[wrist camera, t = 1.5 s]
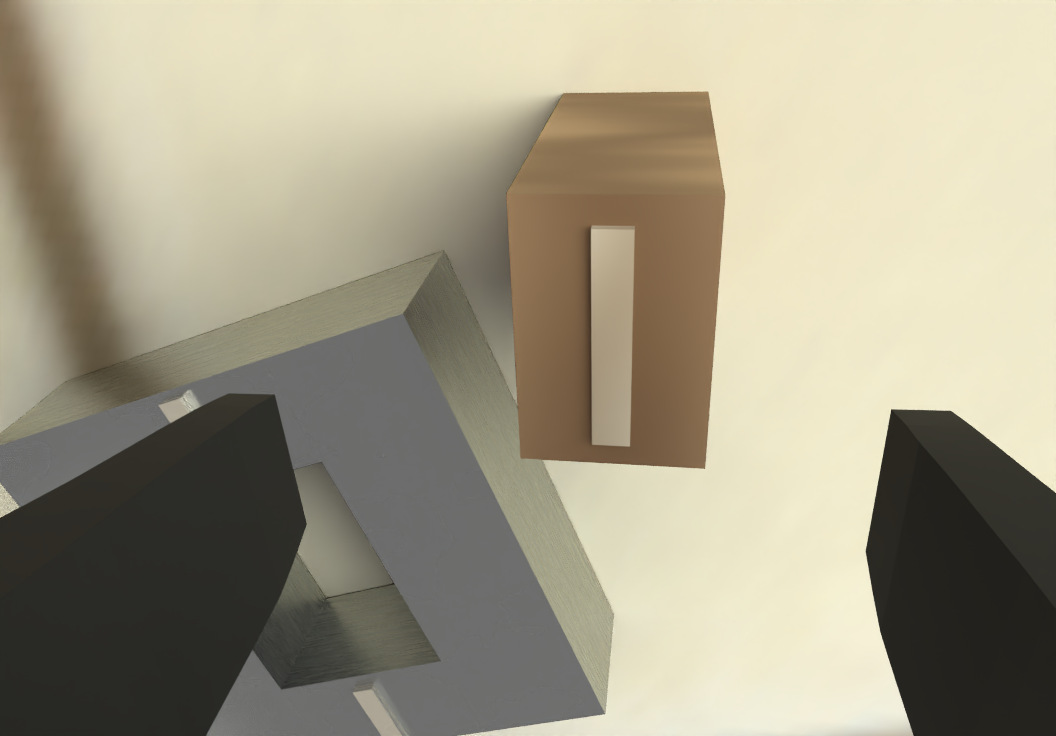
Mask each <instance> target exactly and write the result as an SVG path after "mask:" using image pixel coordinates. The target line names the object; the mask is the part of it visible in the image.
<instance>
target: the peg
mask: <svg viewBox="0 0 1056 736" xmlns="http://www.w3.org/2000/svg"><path fill="white" fill-rule="evenodd" d="M506 200H507V218H508V237H509V255H510V274H511V292H512V311H513V329H514V348H515V366H516V385H517V403H518V421H519V440H520V458H522V459H540V460H559V461H577V462H595V463H613V464H631V465H649V466H668V467H686V468H704V469H705V462H706V448H707V435H708V421H709V408H710V394H711V381H712V367H713V354H714V340H715V327H716V313H717V300H718V286H719V273H720V259H721V246H722V232H723V219H724V205H725V191H724V185H723V179H722V173H721V167H720V160H719V154H718V148H717V142H716V136H715V130H714V124H713V118H712V112H711V106H710V100H709V94H708V92H642V93H563V95H562V97H561V99H560V100H559V102H558V104H557V106H556V107H555V109H554V111H553V113H552V114H551V116H550V118H549V120H548V121H547V123H546V125H545V127H544V128H543V130H542V132H541V134H540V135H539V137H538V139H537V141H536V142H535V144H534V146H533V148H532V149H531V151H530V153H529V155H528V156H527V158H526V160H525V162H524V163H523V165H522V167H521V169H520V170H519V172H518V174H517V176H516V177H515V179H514V181H513V183H512V184H511V186H510V188H509V190H508V191H507V193H506Z"/></svg>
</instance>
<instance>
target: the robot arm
mask: <svg viewBox="0 0 1056 736" xmlns="http://www.w3.org/2000/svg"><path fill="white" fill-rule="evenodd" d="M306 525H307V523H306V519H305V515H304V511H303V507H302V503H301V499H300V495H299V491H298V487H297V483H296V479H295V474H294V470H293V466H292V462H291V458H290V454H289V450H288V446H287V442H286V438H285V434H284V430H283V426H282V422H281V418H280V414H279V409H278V405H277V401H276V397H275V394H236V393H229V394H226V395H224V396H222V397H219V398H217V399H215V400H213V401H211V402H209V403H207V404H205V405H203V406H201V407H199V408H197V409H195V410H193V411H191V412H189V413H188V414H186V415H184V416H182V417H180V418H179V419H177V420H175V421H173V422H171V423H170V424H168V425H166V426H164V427H163V428H161V429H159V430H157V431H156V432H154V433H152V434H150V435H149V436H147V437H145V438H143V439H142V440H140V441H138V442H137V443H135V444H133V445H131V446H130V447H128V448H126V449H124V450H123V451H121V452H119V453H117V454H116V455H114V456H112V457H110V458H109V459H107V460H105V461H103V462H102V463H100V464H98V465H96V466H95V467H93V468H91V469H89V470H88V471H86V472H84V473H82V474H81V475H79V476H77V477H75V478H74V479H72V480H70V481H68V482H66V483H65V484H63V485H61V486H59V487H57V488H55V489H53V490H51V491H50V492H48V493H46V494H44V495H42V496H40V497H38V498H36V499H35V500H33V501H31V502H29V503H27V504H25V505H23V506H21V507H20V508H18V509H16V510H14V511H12V512H10V513H8V514H7V515H5V516H3V517H1V518H0V736H206V735H207V733H208V731H209V729H210V728H211V726H212V724H213V722H214V720H215V718H216V716H217V715H218V713H219V711H220V709H221V707H222V705H223V703H224V702H225V700H226V698H227V696H228V694H229V692H230V690H231V689H232V687H233V685H234V683H235V681H236V679H237V677H238V676H239V674H240V672H241V670H242V668H243V666H244V664H245V663H246V661H247V659H248V657H249V655H250V653H251V651H252V650H253V648H254V646H255V644H256V642H257V640H258V638H259V636H260V634H261V632H262V631H263V629H264V627H265V625H266V623H267V621H268V619H269V617H270V615H271V613H272V612H273V610H274V608H275V606H276V604H277V602H278V600H279V598H280V596H281V593H282V591H283V588H284V586H285V583H286V581H287V578H288V575H289V573H290V570H291V568H292V565H293V562H294V559H295V557H296V554H297V551H298V548H299V545H300V542H301V539H302V536H303V533H304V530H305V527H306ZM866 556H867V562H868V567H869V573H870V579H871V585H872V591H873V596H874V601H875V607H876V612H877V617H878V622H879V627H880V632H881V635H882V639H883V642H884V645H885V648H886V652H887V655H888V658H889V661H890V664H891V667H892V670H893V673H894V677H895V680H896V683H897V686H898V689H899V692H900V695H901V698H902V701H903V704H904V708H905V711H906V714H907V717H908V720H909V723H910V726H911V729H912V732H913V735H914V736H1056V493H1055V492H1054V491H1053V490H1051V489H1050V488H1049V487H1047V486H1046V485H1045V484H1044V483H1042V482H1041V481H1040V480H1039V479H1037V478H1036V477H1035V476H1034V475H1032V474H1031V473H1030V472H1029V471H1027V470H1026V469H1025V468H1024V467H1022V466H1021V465H1020V464H1019V463H1017V462H1016V461H1015V460H1014V459H1012V458H1011V457H1010V456H1009V455H1007V454H1006V453H1005V452H1004V451H1002V450H1001V449H1000V448H999V447H997V446H996V445H995V444H994V443H992V442H991V441H990V440H989V439H987V438H986V437H985V436H984V435H982V434H981V433H980V432H978V431H977V430H976V429H975V428H973V427H972V426H971V425H969V424H968V423H967V422H965V421H964V420H963V419H961V418H960V417H959V416H957V415H956V414H954V413H953V412H951V411H933V410H892V409H891V414H890V420H889V425H888V431H887V437H886V442H885V448H884V453H883V459H882V464H881V470H880V475H879V481H878V486H877V492H876V498H875V503H874V509H873V514H872V520H871V525H870V531H869V536H868V542H867V547H866Z"/></svg>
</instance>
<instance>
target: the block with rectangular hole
mask: <svg viewBox="0 0 1056 736" xmlns="http://www.w3.org/2000/svg"><path fill="white" fill-rule="evenodd" d="M229 393H236V394H275V397H276V401H277V405H278V409H279V414H280V418H281V422H282V426H283V430H284V434H285V438H286V442H287V446H288V450H289V454H290V458H291V462H292V466H293V469H297V468H301V467H304V466H308V465H312V464H315V463H319V462H322V464H323V465H324V467H325V469H326V470H327V472H328V474H329V475H330V477H331V479H332V480H333V482H334V484H335V485H336V487H337V489H338V490H339V492H340V494H341V495H342V497H343V499H344V500H345V502H346V504H347V505H348V507H349V509H350V510H351V512H352V514H353V515H354V517H355V519H356V520H357V522H358V524H359V525H360V527H361V529H362V530H363V532H364V534H365V535H366V537H367V539H368V540H369V542H370V544H371V545H372V547H373V549H374V550H375V552H376V554H377V555H378V557H379V559H380V560H381V562H382V564H383V565H384V567H385V569H386V570H387V572H388V574H389V575H390V577H391V579H392V580H393V582H394V584H392V585H388V586H383V587H378V588H374V589H369V590H364V591H360V592H355V593H350V594H345V595H341V596H336V597H331V598H327V599H326V597H325V596H324V594H323V593H322V591H321V590H320V588H319V587H318V585H317V584H316V582H315V580H314V579H313V577H312V576H311V574H310V573H309V571H308V570H307V568H306V567H305V565H304V564H303V562H302V560H301V559H300V557H299V556H298V554H296V557H295V559H294V562H293V565H292V568H291V570H290V573H289V575H288V578H287V581H286V583H285V586H284V588H283V591H282V593H281V596H280V598H279V600H278V602H277V604H276V606H275V608H274V610H273V612H272V613H271V615H270V617H269V619H268V621H267V623H266V625H265V627H264V629H263V631H262V632H261V634H260V636H259V638H258V640H257V642H256V644H255V646H254V648H253V650H252V651H251V653H250V655H249V657H248V659H247V661H246V663H245V664H244V666H243V668H242V670H241V672H240V674H239V676H238V677H237V679H236V681H235V683H234V685H233V687H232V689H231V690H230V692H229V694H228V696H227V698H226V700H225V702H224V703H223V705H222V707H221V709H220V711H219V713H218V715H217V716H216V718H215V720H214V722H213V724H212V726H211V728H210V729H209V731H208V733H207V735H206V736H459V735H466V734H473V733H479V732H486V731H493V730H500V729H507V728H514V727H520V726H527V725H534V724H541V723H548V722H554V721H561V720H568V719H575V718H582V717H589V716H595V715H602V714H605V712H606V700H607V688H608V677H609V665H610V653H611V642H612V630H613V618H614V614H613V612H612V609H611V607H610V605H609V603H608V601H607V599H606V597H605V594H604V592H603V590H602V588H601V586H600V584H599V582H598V579H597V577H596V575H595V573H594V571H593V569H592V567H591V564H590V562H589V560H588V558H587V556H586V554H585V552H584V549H583V547H582V545H581V543H580V541H579V539H578V537H577V534H576V532H575V530H574V528H573V526H572V524H571V522H570V519H569V517H568V515H567V513H566V511H565V509H564V507H563V504H562V502H561V500H560V498H559V496H558V494H557V492H556V489H555V487H554V485H553V483H552V481H551V479H550V477H549V474H548V472H547V470H546V468H545V466H544V464H543V462H542V460H540V459H522V458H520V440H519V421H518V408H517V406H516V404H515V402H514V399H513V397H512V395H511V393H510V391H509V389H508V387H507V385H506V382H505V380H504V378H503V376H502V374H501V372H500V370H499V367H498V365H497V363H496V361H495V359H494V357H493V355H492V352H491V350H490V348H489V346H488V344H487V342H486V340H485V337H484V335H483V333H482V331H481V329H480V327H479V325H478V322H477V320H476V318H475V316H474V314H473V312H472V310H471V307H470V305H469V303H468V301H467V299H466V297H465V295H464V292H463V290H462V288H461V286H460V284H459V282H458V280H457V277H456V275H455V273H454V271H453V269H452V267H451V265H450V262H449V260H448V258H447V256H446V254H445V252H444V251H441V252H438V253H435V254H432V255H429V256H427V257H424V258H421V259H418V260H415V261H412V262H409V263H406V264H403V265H401V266H398V267H395V268H392V269H389V270H386V271H383V272H380V273H378V274H375V275H372V276H369V277H366V278H363V279H360V280H357V281H354V282H352V283H349V284H346V285H343V286H340V287H337V288H334V289H331V290H329V291H326V292H323V293H320V294H317V295H314V296H311V297H308V298H305V299H303V300H300V301H297V302H294V303H291V304H288V305H285V306H282V307H280V308H277V309H274V310H271V311H268V312H265V313H262V314H259V315H256V316H254V317H251V318H248V319H245V320H242V321H239V322H236V323H233V324H231V325H228V326H225V327H222V328H219V329H216V330H213V331H210V332H208V333H205V334H202V335H199V336H196V337H193V338H190V339H187V340H184V341H182V342H179V343H176V344H173V345H170V346H167V347H164V348H161V349H159V350H156V351H153V352H150V353H147V354H144V355H141V356H138V357H135V358H133V359H130V360H127V361H124V362H121V363H118V364H115V365H112V366H110V367H107V368H104V369H101V370H98V371H95V372H92V373H89V374H86V375H84V376H81V377H78V378H75V379H72V380H69V381H66V382H65V383H63V384H62V385H61V386H60V387H58V388H57V389H56V390H55V391H53V392H52V393H51V394H50V395H48V396H47V397H46V398H45V399H43V400H42V401H41V402H40V403H38V404H37V405H36V406H35V407H33V408H32V409H31V410H30V411H28V412H27V413H26V414H25V415H23V416H22V417H21V418H20V419H18V420H17V421H16V422H14V423H13V424H12V425H11V426H9V427H8V428H7V429H6V430H4V431H3V432H2V433H1V434H0V483H1V484H2V485H3V486H4V488H5V489H6V490H7V491H8V493H9V494H10V495H11V496H12V498H13V499H14V500H15V501H16V503H17V504H18V505H19V506H20V507H21V506H23V505H25V504H27V503H29V502H31V501H33V500H35V499H36V498H38V497H40V496H42V495H44V494H46V493H48V492H50V491H51V490H53V489H55V488H57V487H59V486H61V485H63V484H65V483H66V482H68V481H70V480H72V479H74V478H75V477H77V476H79V475H81V474H82V473H84V472H86V471H88V470H89V469H91V468H93V467H95V466H96V465H98V464H100V463H102V462H103V461H105V460H107V459H109V458H110V457H112V456H114V455H116V454H117V453H119V452H121V451H123V450H124V449H126V448H128V447H130V446H131V445H133V444H135V443H137V442H138V441H140V440H142V439H143V438H145V437H147V436H149V435H150V434H152V433H154V432H156V431H157V430H159V429H161V428H163V427H164V426H166V425H168V424H170V423H171V422H173V421H175V420H177V419H179V418H180V417H182V416H184V415H186V414H188V413H189V412H191V411H193V410H195V409H197V408H199V407H201V406H203V405H205V404H207V403H209V402H211V401H213V400H215V399H217V398H219V397H222V396H224V395H226V394H229Z"/></svg>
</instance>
